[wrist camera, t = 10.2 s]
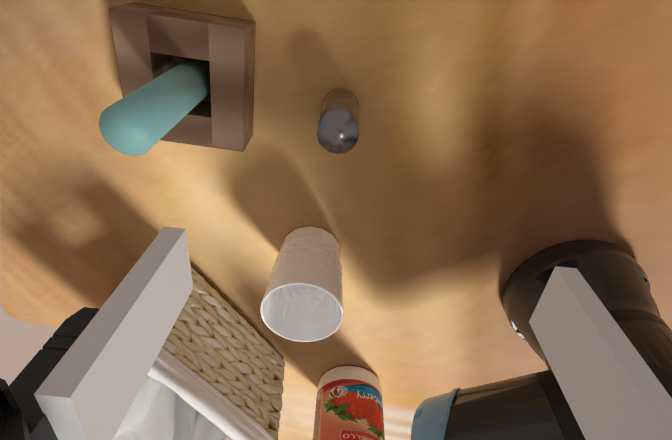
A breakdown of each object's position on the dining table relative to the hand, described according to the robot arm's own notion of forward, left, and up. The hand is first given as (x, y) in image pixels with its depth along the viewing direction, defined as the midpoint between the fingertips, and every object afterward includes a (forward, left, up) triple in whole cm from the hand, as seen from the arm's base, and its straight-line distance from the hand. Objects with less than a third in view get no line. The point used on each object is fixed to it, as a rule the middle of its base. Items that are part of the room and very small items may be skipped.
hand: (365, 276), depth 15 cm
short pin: (-2, +1, -26) cm, 26 cm away
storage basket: (-35, +16, -26) cm, 47 cm away
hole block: (-1, +14, -26) cm, 29 cm away
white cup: (-19, +2, -26) cm, 32 cm away
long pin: (-1, +14, -26) cm, 29 cm away
